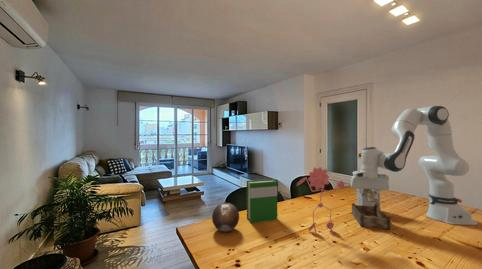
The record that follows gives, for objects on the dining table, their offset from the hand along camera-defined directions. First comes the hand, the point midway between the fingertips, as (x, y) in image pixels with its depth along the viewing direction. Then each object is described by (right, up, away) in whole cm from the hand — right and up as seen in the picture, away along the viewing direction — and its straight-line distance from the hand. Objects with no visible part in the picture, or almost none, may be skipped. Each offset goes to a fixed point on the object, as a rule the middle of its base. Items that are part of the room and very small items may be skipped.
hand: (369, 196), depth 127 cm
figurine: (-35, -16, -11) cm, 40 cm away
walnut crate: (0, -15, 0) cm, 15 cm away
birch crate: (0, -2, 0) cm, 2 cm away
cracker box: (+10, -15, +17) cm, 25 cm away
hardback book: (-65, -16, +3) cm, 67 cm away
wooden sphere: (-87, -16, -11) cm, 89 cm away
